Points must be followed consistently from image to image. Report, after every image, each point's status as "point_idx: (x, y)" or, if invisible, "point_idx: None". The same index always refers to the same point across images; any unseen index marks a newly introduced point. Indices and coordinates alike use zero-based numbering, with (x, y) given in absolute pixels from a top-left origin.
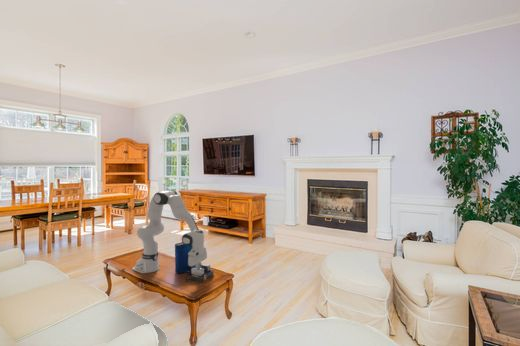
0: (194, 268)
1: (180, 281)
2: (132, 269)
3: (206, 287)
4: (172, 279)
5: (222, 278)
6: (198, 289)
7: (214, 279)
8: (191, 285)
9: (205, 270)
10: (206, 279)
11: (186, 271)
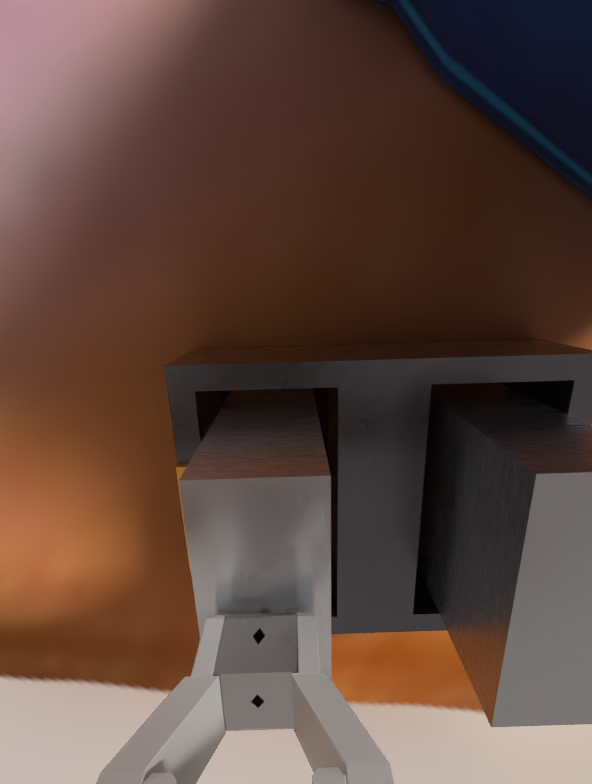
0: (216, 554)
1: (90, 271)
2: None
3: (156, 664)
4: (59, 55)
5: (444, 687)
6: (65, 625)
7: (382, 633)
8: (91, 501)
9: (447, 580)
10: None
11: (456, 81)
